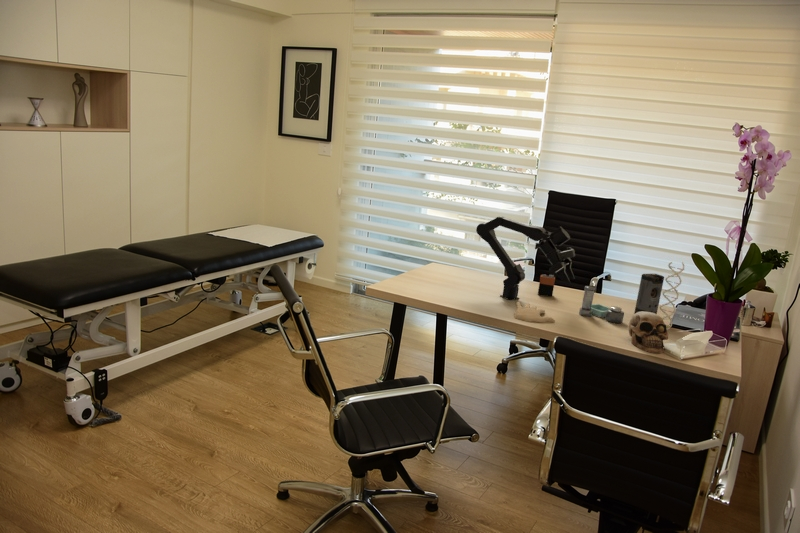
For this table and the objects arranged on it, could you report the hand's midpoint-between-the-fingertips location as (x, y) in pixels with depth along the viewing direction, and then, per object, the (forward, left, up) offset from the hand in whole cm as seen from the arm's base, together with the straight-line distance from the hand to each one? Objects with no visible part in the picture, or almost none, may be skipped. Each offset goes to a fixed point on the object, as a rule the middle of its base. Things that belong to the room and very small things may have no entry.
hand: (571, 281), depth 269 cm
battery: (+10, +23, -14) cm, 28 cm away
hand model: (-22, -2, -14) cm, 26 cm away
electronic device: (+29, -19, -14) cm, 37 cm away
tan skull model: (-3, -43, -14) cm, 45 cm away
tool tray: (+13, -7, -13) cm, 20 cm away
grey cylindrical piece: (+4, -7, -13) cm, 16 cm away
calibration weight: (+10, -18, -13) cm, 24 cm away
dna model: (+19, -35, -14) cm, 42 cm away
